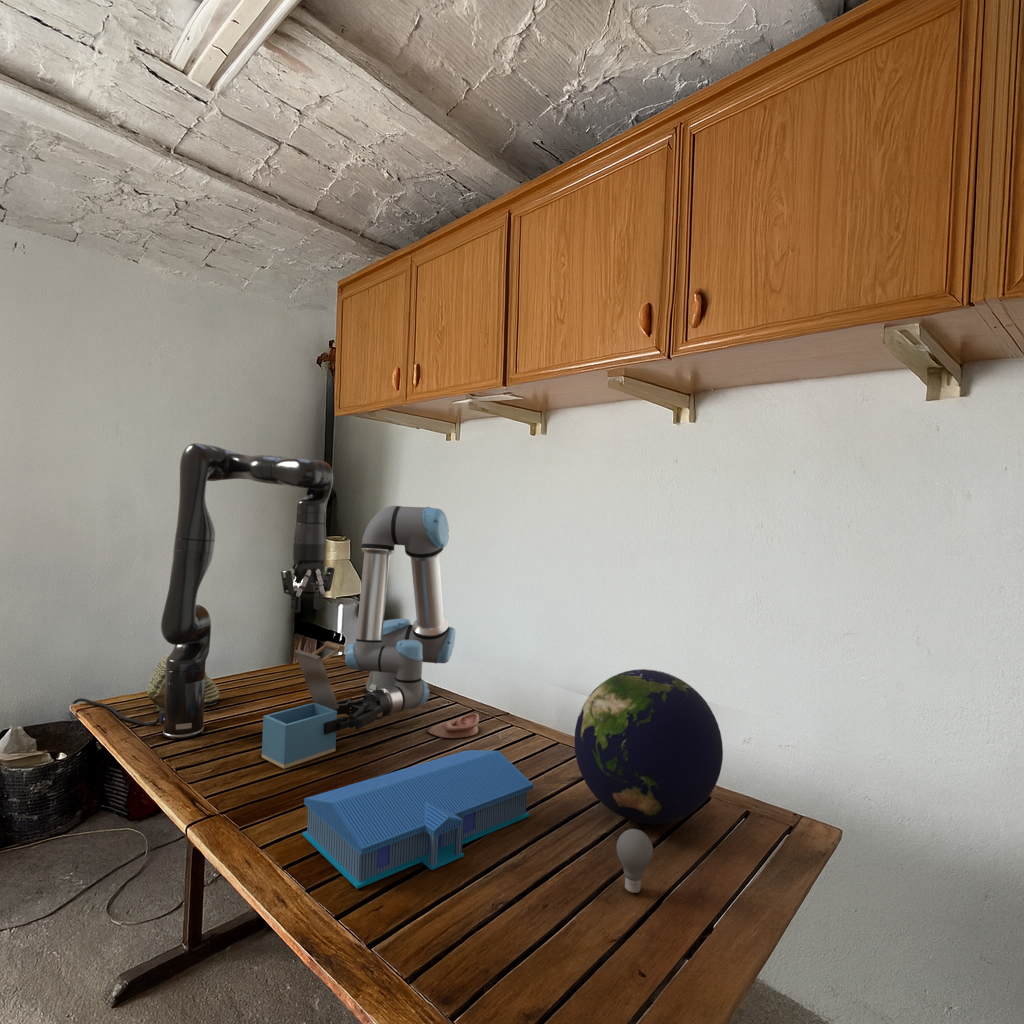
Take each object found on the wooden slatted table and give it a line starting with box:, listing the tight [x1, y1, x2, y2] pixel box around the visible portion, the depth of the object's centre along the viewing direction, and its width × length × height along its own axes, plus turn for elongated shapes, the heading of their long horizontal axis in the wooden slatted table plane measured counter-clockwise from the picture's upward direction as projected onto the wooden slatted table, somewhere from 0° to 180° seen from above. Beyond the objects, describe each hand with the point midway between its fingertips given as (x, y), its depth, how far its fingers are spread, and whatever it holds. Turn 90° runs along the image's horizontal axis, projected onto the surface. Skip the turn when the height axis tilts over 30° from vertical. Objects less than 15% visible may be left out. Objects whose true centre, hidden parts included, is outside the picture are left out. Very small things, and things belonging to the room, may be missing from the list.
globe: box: [573, 668, 724, 825], centre depth 131 cm, size 30×30×30 cm
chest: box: [261, 701, 338, 770], centre depth 155 cm, size 14×9×10 cm, turn 143°
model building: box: [302, 749, 534, 890], centre depth 123 cm, size 39×24×10 cm, turn 132°
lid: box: [294, 640, 345, 710], centre depth 161 cm, size 15×9×9 cm
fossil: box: [147, 654, 221, 712], centre depth 185 cm, size 9×18×15 cm, turn 132°
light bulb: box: [615, 828, 654, 894], centre depth 106 cm, size 6×6×10 cm
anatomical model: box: [427, 712, 480, 739], centre depth 174 cm, size 13×4×12 cm
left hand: (307, 610), depth 155 cm, fingers open, 5 cm apart
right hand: (312, 723), depth 158 cm, fingers closed on chest, 9 cm apart
